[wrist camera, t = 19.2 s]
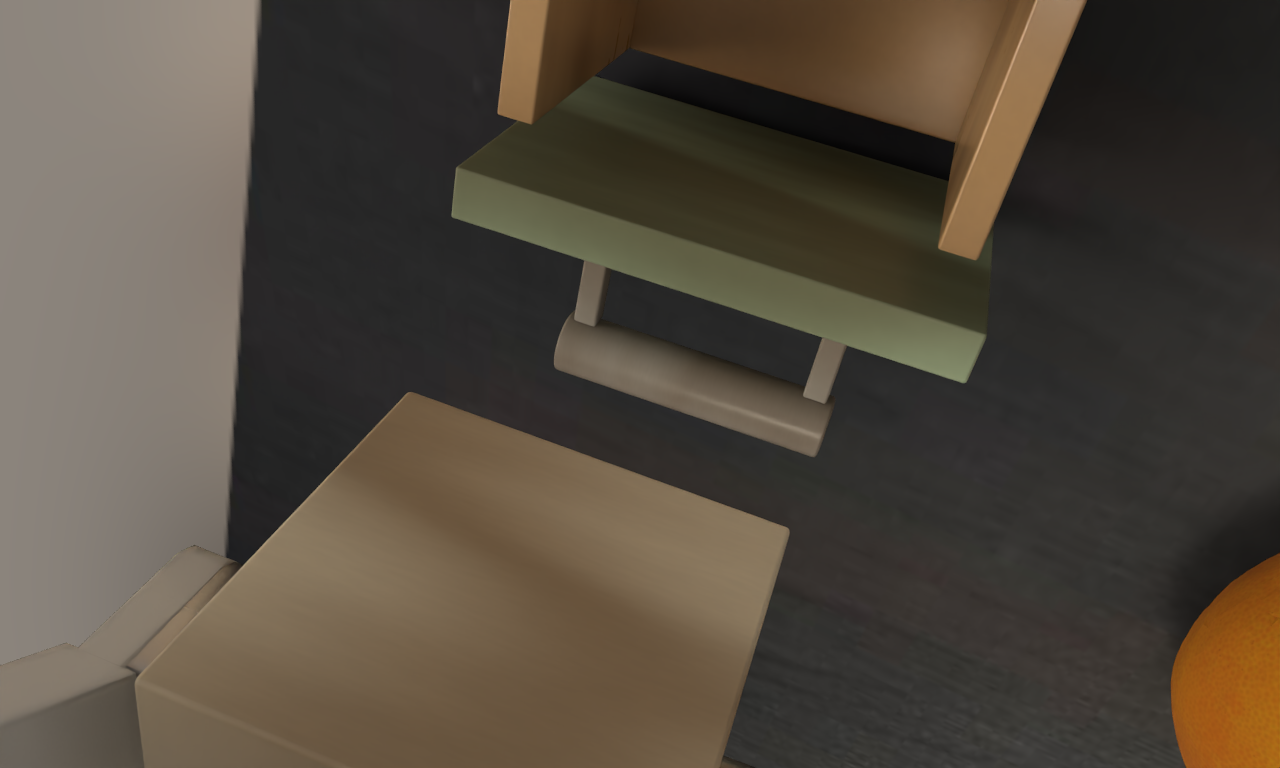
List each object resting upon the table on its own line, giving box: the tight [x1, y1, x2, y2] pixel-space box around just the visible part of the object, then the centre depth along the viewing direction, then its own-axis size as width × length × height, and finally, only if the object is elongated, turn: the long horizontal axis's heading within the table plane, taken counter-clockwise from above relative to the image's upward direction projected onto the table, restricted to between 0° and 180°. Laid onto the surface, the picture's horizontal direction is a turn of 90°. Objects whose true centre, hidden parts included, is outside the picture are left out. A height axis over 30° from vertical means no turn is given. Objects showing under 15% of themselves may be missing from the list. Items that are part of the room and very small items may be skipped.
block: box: [135, 392, 790, 768], centre depth 11 cm, size 4×4×4 cm
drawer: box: [452, 0, 1087, 457], centre depth 23 cm, size 19×11×8 cm, turn 169°
